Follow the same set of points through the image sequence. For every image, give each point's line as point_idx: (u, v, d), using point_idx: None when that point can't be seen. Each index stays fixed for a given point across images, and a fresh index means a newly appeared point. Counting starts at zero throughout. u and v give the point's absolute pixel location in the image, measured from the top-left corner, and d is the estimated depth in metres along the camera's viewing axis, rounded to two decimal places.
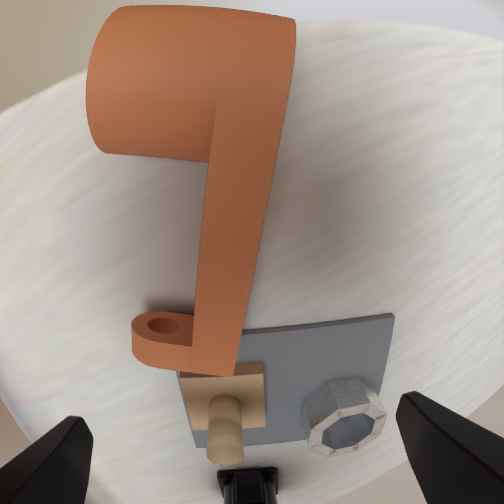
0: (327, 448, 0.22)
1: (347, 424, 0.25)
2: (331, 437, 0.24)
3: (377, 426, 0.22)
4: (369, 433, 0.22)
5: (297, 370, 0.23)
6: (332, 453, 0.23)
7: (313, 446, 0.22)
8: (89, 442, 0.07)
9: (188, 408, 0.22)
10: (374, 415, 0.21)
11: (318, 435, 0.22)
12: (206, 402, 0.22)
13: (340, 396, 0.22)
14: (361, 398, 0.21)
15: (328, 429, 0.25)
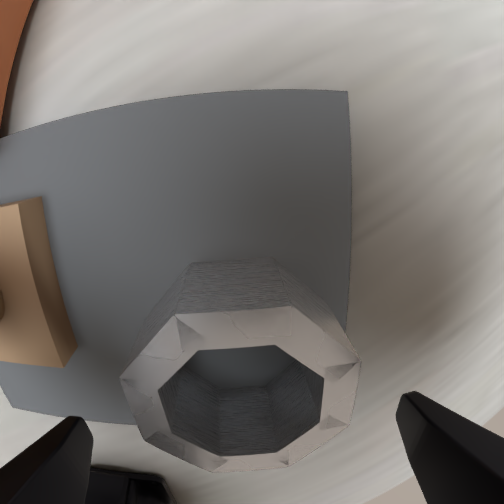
0: (197, 450, 0.08)
1: (270, 398, 0.11)
2: (222, 425, 0.10)
3: (335, 402, 0.08)
4: (314, 421, 0.09)
5: (114, 223, 0.10)
6: (216, 464, 0.09)
7: (156, 438, 0.08)
8: (89, 442, 0.07)
9: None
10: (317, 361, 0.08)
11: (150, 404, 0.08)
12: None
13: (204, 288, 0.08)
14: (265, 295, 0.08)
15: (221, 405, 0.11)
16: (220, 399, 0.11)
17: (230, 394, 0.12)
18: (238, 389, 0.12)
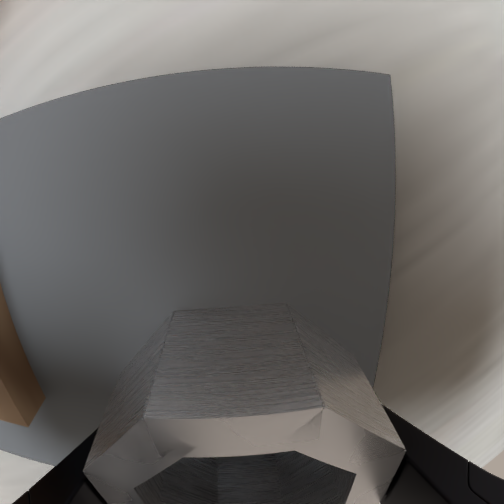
0: None
1: (278, 465, 0.08)
2: (220, 499, 0.07)
3: (365, 491, 0.05)
4: None
5: (70, 257, 0.07)
6: None
7: None
8: None
9: None
10: (351, 460, 0.05)
11: (127, 498, 0.05)
12: None
13: (190, 364, 0.05)
14: (282, 382, 0.05)
15: (219, 473, 0.08)
16: (218, 465, 0.08)
17: (230, 458, 0.09)
18: None
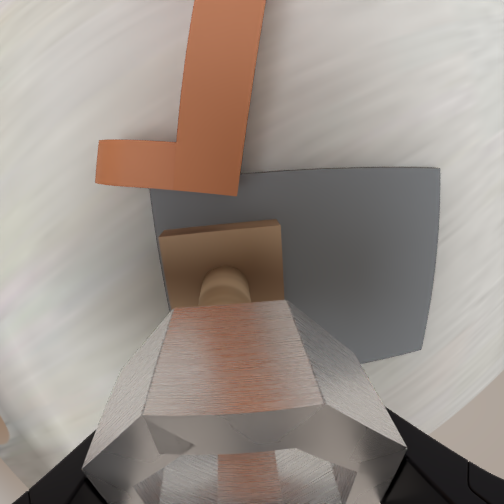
0: None
1: (278, 464, 0.08)
2: (220, 498, 0.07)
3: (366, 489, 0.05)
4: None
5: (326, 238, 0.17)
6: None
7: None
8: None
9: (171, 296, 0.16)
10: (351, 457, 0.05)
11: (126, 496, 0.05)
12: (197, 283, 0.16)
13: (189, 361, 0.05)
14: (282, 379, 0.05)
15: (219, 472, 0.08)
16: (217, 464, 0.08)
17: (230, 457, 0.09)
18: None
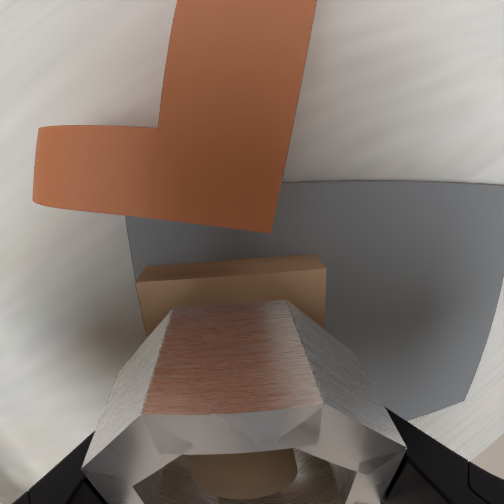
0: None
1: None
2: (220, 498, 0.07)
3: (365, 489, 0.05)
4: None
5: (381, 279, 0.12)
6: None
7: None
8: None
9: None
10: (351, 457, 0.05)
11: (126, 496, 0.05)
12: None
13: (189, 361, 0.05)
14: (281, 378, 0.05)
15: None
16: None
17: None
18: None
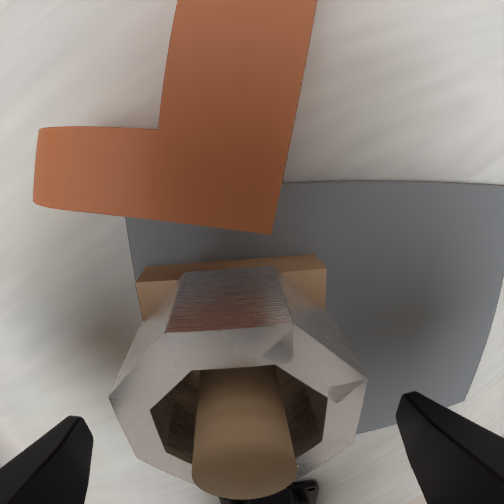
0: None
1: None
2: None
3: (338, 421, 0.07)
4: (316, 439, 0.08)
5: (381, 280, 0.12)
6: None
7: (150, 455, 0.08)
8: (89, 442, 0.07)
9: None
10: (321, 381, 0.07)
11: (142, 423, 0.07)
12: None
13: (198, 302, 0.08)
14: (265, 310, 0.07)
15: None
16: None
17: None
18: None
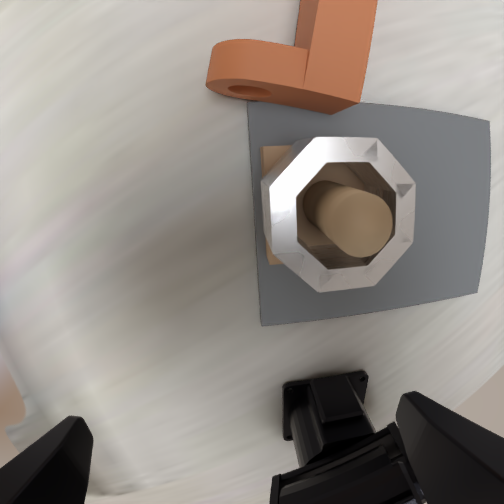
0: (312, 261, 0.13)
1: None
2: (320, 258, 0.15)
3: (403, 216, 0.13)
4: (390, 236, 0.13)
5: (407, 168, 0.17)
6: (324, 280, 0.13)
7: (282, 252, 0.13)
8: (89, 442, 0.07)
9: None
10: (392, 178, 0.12)
11: (287, 211, 0.12)
12: (299, 196, 0.16)
13: None
14: None
15: (314, 251, 0.16)
16: (312, 248, 0.16)
17: (318, 247, 0.16)
18: (322, 245, 0.16)
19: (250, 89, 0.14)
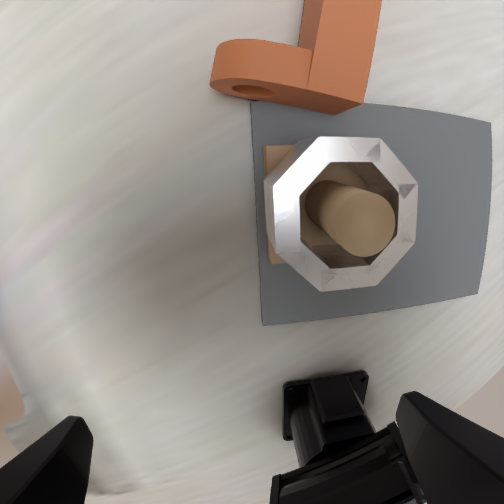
0: (315, 261, 0.13)
1: None
2: (323, 257, 0.15)
3: (405, 216, 0.13)
4: (392, 236, 0.13)
5: (409, 169, 0.17)
6: (326, 280, 0.13)
7: (285, 251, 0.13)
8: (89, 442, 0.07)
9: None
10: (394, 178, 0.12)
11: (291, 210, 0.12)
12: (301, 196, 0.16)
13: None
14: None
15: (316, 251, 0.16)
16: (314, 248, 0.16)
17: (320, 247, 0.16)
18: (324, 245, 0.16)
19: (254, 89, 0.15)
